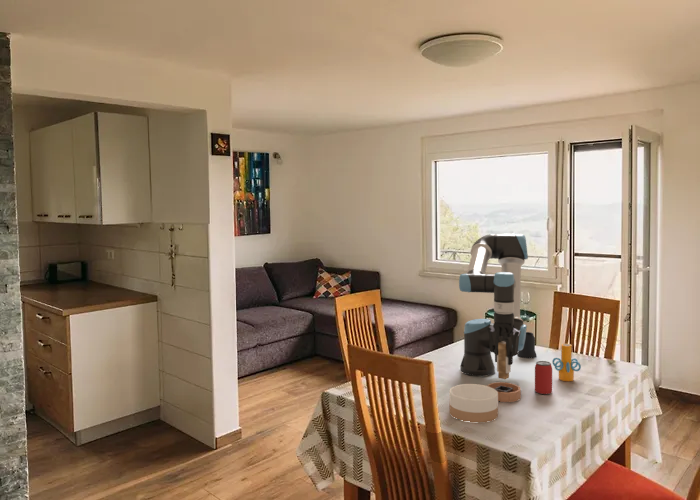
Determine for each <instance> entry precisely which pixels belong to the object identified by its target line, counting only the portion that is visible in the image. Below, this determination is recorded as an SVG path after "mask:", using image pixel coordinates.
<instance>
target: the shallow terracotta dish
mask: <svg viewBox="0 0 700 500" xmlns="http://www.w3.org/2000/svg"><path fill="white" fill-rule="evenodd" d="M486 386H488V387H491V388H493V389H495V388H497V387H499V386H505V387H510V388H513V392H509V393H508V392H498V391H497V392H498V402H499V401H500V402H499V403H501V402H502V403H513V402H518V401H519V400H521V399H522V395H521V394H522V391H521V386H520V385H517V384H516V383H510V382H505V381H504V382H503V381H497V382H496V381H495V382H490V383H489V384H487V385H486Z"/></svg>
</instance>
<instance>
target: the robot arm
mask: <svg viewBox="0 0 700 500" xmlns="http://www.w3.org/2000/svg"><path fill="white" fill-rule="evenodd" d="M470 248H471V249H470V256H471V257H470V260H469V263H468V267H467V271H466V273H461V274H459V278H458V288H459V291H461V292H465V293H487V294H488V293H489V294H493V311H494V313H493V322H492V320H491V319H489V318H476V319H471V320H467V322H465V323H464V326H463V327H464V329H463V338H464V339H463V342H464V344H463V345H464V347H463V348H464V349H463V350H464V354H463V357H462V359H461V363H460V366H459V367H460V370H459V371H460V372H461V373H462V372H463V374H465V375H468V376H473V377H474V376H476V377H485V376H492V375H493V374H495V372H497V373H498V343H499V342H502V341H503V342H506V348H507V356H506V373H509V374H510V373H511V370H512V369H511V367H512V366H511V365H513V363H514V362H513V361H514V359H513V358H514V357H515V356H517V354H518V351H521V350H522V349H523V348H524V343H525V337H526V332H527V327H528V326H527V324H525V323H524V320H523V319H522V318H521V285H522V284H521V282H522V281H521V280H522V279H521V278H522V273H521V272H522V266H524V265H525V260H528V258H529V257H528V247H527V239H526V236H525V235H524V234H523V233H489V234H486V235H484V236H483V235H482V236H481V237H479V239H477V240H476V241H475V242H474V243H473V244H472V246H471V247H470ZM490 259H496V260H497V259H498V263H499V264H500V265H501V267H500V268H501V269H500V272H495V273H494V274H490V273H488V274H486V271H487V267H488V263H489V261H490ZM492 353H493V354H494V360H493V357H492V355H491V354H492ZM494 362H495V363H496V369H495V363H494Z"/></svg>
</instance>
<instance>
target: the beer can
mask: <svg viewBox="0 0 700 500" xmlns="http://www.w3.org/2000/svg"><path fill="white" fill-rule="evenodd" d="M534 391H535V393H537V394H539V395H550V394H552V393H553V366H552V363H551V362H550V361H548V360H547V361H546V360H537V361H536V362H535V365H534Z"/></svg>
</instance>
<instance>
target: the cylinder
mask: <svg viewBox="0 0 700 500" xmlns="http://www.w3.org/2000/svg"><path fill="white" fill-rule="evenodd" d="M572 345H573V344H571V343H562V344H561V351H560V352H561V357H560V358H561V359H560V358H559V357H554V358H553V359H552V363H551V364H552V365H553V366H554V369H555V370H556V371H558V380H560V381H561V382H562V381H563V382H573V381H574V380H575V379H574V377H575V374H574V373H575V372H579V371H581V368H582V367H581V364H580V362H579V361H578V359H577V358H572V356H573V355H572V352H573V351H572V349H573V348H572V347H573V346H572ZM556 360H557V361H556ZM555 361H556V362H555ZM558 364H559V365H558ZM574 364H575V365H574ZM573 365H574V366H573ZM577 367H578V368H577Z"/></svg>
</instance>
